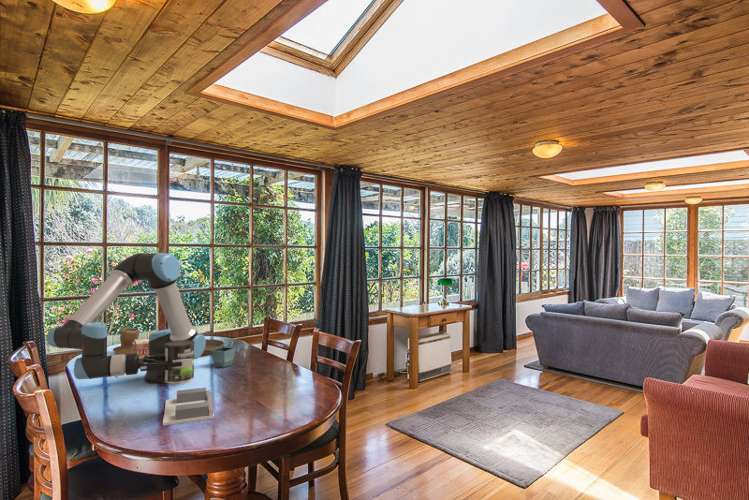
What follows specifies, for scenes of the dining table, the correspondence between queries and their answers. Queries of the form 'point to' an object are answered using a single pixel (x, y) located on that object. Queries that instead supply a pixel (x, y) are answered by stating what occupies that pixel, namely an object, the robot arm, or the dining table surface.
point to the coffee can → (179, 352)
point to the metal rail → (209, 403)
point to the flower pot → (223, 356)
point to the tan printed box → (141, 347)
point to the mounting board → (170, 413)
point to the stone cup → (127, 341)
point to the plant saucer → (212, 346)
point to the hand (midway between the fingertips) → (191, 359)
